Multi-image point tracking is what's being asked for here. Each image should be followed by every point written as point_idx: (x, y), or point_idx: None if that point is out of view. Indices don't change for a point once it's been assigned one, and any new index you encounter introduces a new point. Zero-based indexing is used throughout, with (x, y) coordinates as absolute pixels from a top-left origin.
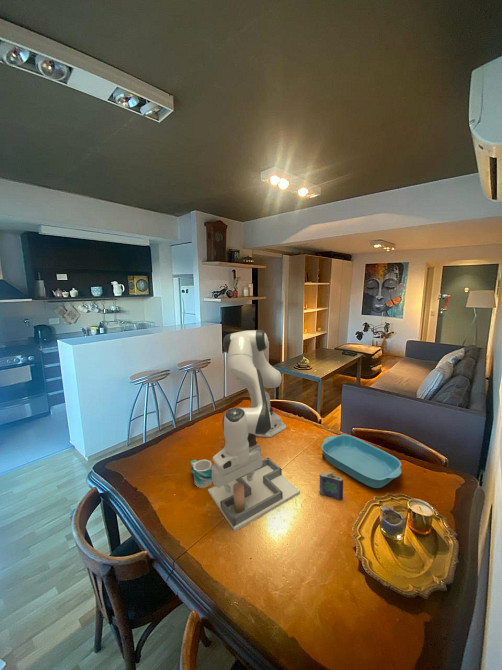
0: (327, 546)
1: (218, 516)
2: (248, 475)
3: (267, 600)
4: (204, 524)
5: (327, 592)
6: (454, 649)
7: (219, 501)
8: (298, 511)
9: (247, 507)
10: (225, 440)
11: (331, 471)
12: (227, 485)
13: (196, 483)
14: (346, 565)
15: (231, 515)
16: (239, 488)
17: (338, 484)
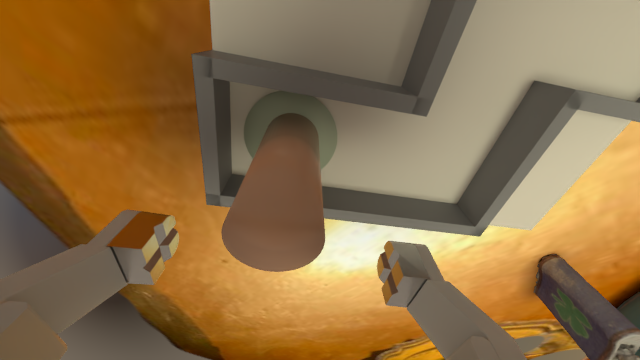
0: (381, 321)
1: (192, 70)
2: (416, 284)
3: (209, 315)
4: (102, 57)
5: (305, 346)
6: None
7: None
8: (438, 254)
9: (327, 156)
10: None
11: None
12: (124, 249)
13: None
14: (367, 344)
15: (210, 185)
16: (266, 257)
17: (583, 347)
